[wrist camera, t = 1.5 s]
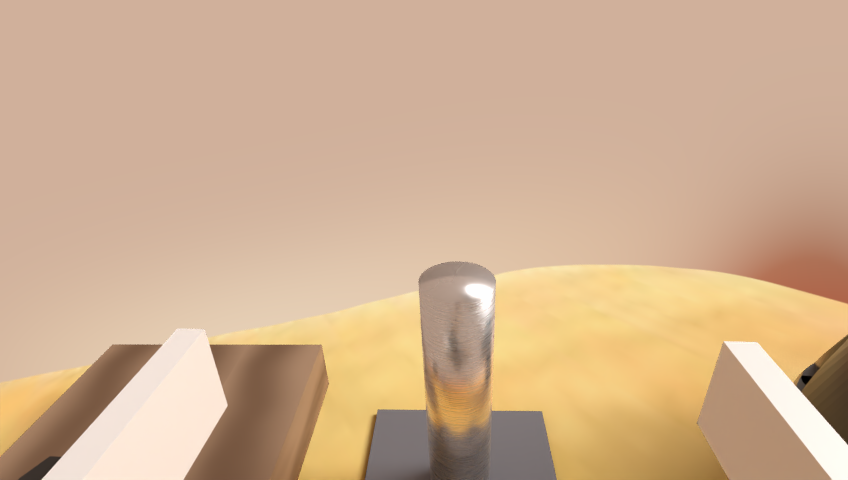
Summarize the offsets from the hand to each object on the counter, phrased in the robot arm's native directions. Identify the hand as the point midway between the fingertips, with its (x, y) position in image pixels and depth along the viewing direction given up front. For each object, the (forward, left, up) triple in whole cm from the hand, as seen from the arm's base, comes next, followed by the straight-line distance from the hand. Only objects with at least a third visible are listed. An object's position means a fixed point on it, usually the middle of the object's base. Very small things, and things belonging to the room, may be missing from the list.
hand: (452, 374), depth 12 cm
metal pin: (0, -9, -18) cm, 20 cm away
